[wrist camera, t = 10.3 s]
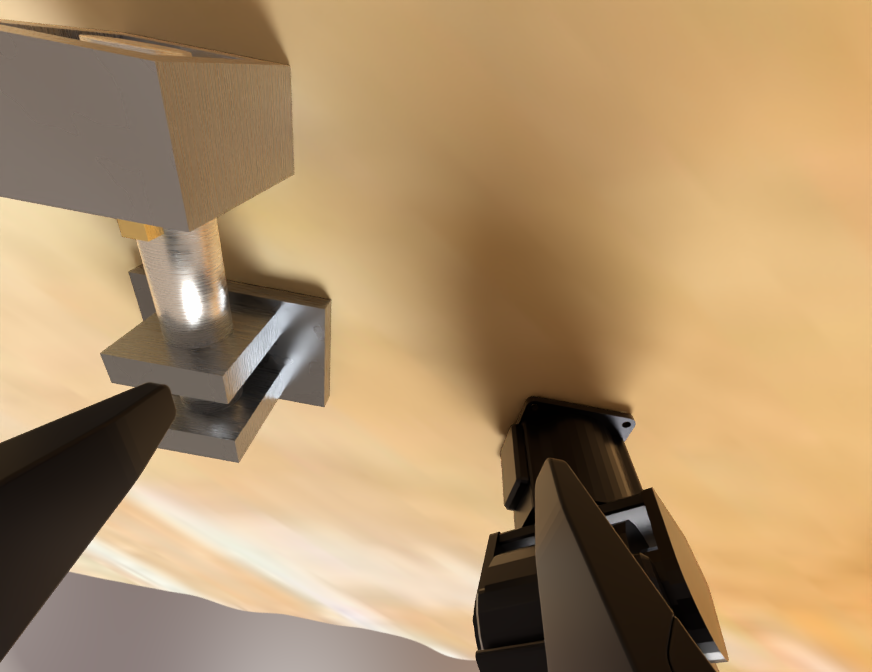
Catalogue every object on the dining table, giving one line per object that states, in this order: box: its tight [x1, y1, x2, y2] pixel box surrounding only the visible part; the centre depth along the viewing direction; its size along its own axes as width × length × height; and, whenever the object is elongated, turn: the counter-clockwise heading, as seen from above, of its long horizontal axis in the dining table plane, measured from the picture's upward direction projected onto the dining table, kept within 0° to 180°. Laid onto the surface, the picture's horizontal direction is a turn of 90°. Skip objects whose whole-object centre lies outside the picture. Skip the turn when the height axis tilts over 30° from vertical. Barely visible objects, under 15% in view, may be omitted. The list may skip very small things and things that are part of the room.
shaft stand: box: [79, 35, 331, 463], centre depth 17 cm, size 10×17×6 cm, turn 171°
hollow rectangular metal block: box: [0, 19, 294, 232], centre depth 13 cm, size 6×4×8 cm, turn 81°
